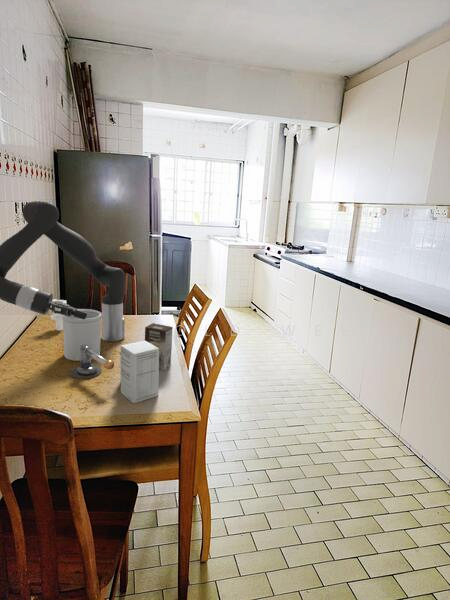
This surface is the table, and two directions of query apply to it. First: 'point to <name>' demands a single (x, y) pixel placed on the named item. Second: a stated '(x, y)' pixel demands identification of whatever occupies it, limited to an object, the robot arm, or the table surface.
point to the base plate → (74, 374)
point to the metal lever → (85, 361)
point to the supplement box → (139, 371)
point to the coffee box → (160, 342)
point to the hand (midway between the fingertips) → (86, 316)
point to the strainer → (58, 317)
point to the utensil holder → (81, 333)
